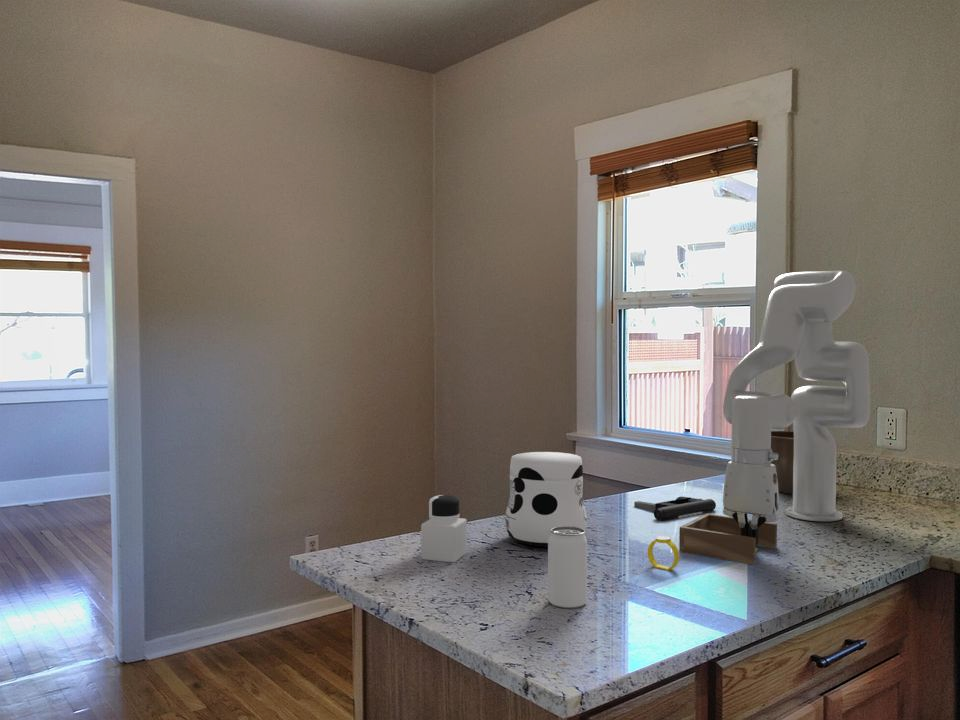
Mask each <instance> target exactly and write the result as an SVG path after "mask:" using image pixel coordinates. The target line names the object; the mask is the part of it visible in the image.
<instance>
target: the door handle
mask: <svg viewBox="0 0 960 720" xmlns="http://www.w3.org/2000/svg"><path fill="white" fill-rule="evenodd" d="M633 503H634V506H633V507H635V508H637V509H641V510H646V511H649V512H653V516H654V518H655V519H656V520H657V521H665V520H670V519H671V520H673V519H675V518H676V519H682V518H681V517H684V518H686V517H685V516H689V517H691V516H690V515H694V516H696V515H695V514H699V515H703V513H708V511H709V512H712V511H714V510H715V509H716V508H717V507H716V506H717V504H716V501H715V500H713V499H711V498H707V499H701V498H694V497H689V496H688V497H687V496H678V497H677V498H676V499H673V500H667V501H661V502H657V503H655V502H654V503H653V502H647V501H642V500H641V501H640V500H637V501H634V502H633Z"/></svg>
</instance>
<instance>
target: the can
mask: <svg viewBox="0 0 960 720" xmlns="http://www.w3.org/2000/svg"><path fill="white" fill-rule="evenodd" d="M584 533H585V534H586V531H584V530H583V529H581V528H577V527H568V526H564V527H555V528H553V529H551V534H550V536H549V539H548V546H547V601H548V602H549V603H550V604H551V605H552V606H553V607H556V608H561V609H578V608H581V607H584V606H585V605H586V603H587V602H588V539H587V537H586V535H585V534H584Z"/></svg>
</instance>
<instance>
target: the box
mask: <svg viewBox="0 0 960 720" xmlns="http://www.w3.org/2000/svg"><path fill="white" fill-rule="evenodd" d="M751 521H752V519H749V524H750V525H751ZM678 537H679V540H678V541H679V542H678V543H679V544H678V551H679V552H680V551H681V553H685V552H687V554H691V553H692V555H696V554H698V555H697V556H702V555H703V557H708V556H709V557H708V558H713V557H715V558H714V559H719V558H720V560H725V561H732V562H735V561H736V563H742V564H748V565H755V564H756V552H755V548H756V546H757V545H758V547H763V546H764V547H765V548H771V549H777V548H778V523H777V522H776V523H775V522H765V523H763V524H762V525H761V526H760V527H759V528H758V544H757V545H756V546H755V544H756V538H753V537H747V536H741V528H740V527H739V524H738V523H737V522H736V521H735V519H734V518H733V517H730V516H727V515H720V514H715V513H714V514H713V513H708V512H705V514H701V515H700V516H699V517H697V518H695V519H693V520H690V521H688V522H687V523H685V524H683V525H681V526H679V536H678Z"/></svg>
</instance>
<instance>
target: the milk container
mask: <svg viewBox="0 0 960 720" xmlns="http://www.w3.org/2000/svg"><path fill="white" fill-rule="evenodd" d="M583 470H584V469H583V460H582V456H580V455H577V454H575V453H569V452H568V453H567V452H558V451H555V452H554V451H530V452H522V453H517V454H514V455H512V456H511V457H510V465H509V499H508V503H507V506H506V511H505V521H504V522H505V527H506V532H507V534H508V536H509V537H510V538H511V539H513V540H514V541H516V542H519V543H520V544H524V545H530V546H535V547H548V539H549V536H550V534H551V529H553V528H555V527H564V526H568V527H577V528H581V529H583V530H584V531H585V533H584V534H586V532H587V531H586V530H587V523H588V517H587V510H586V507H585V503H584V497H583V492H584V491H583V489H584V488H583V487H584V477H583Z"/></svg>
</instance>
